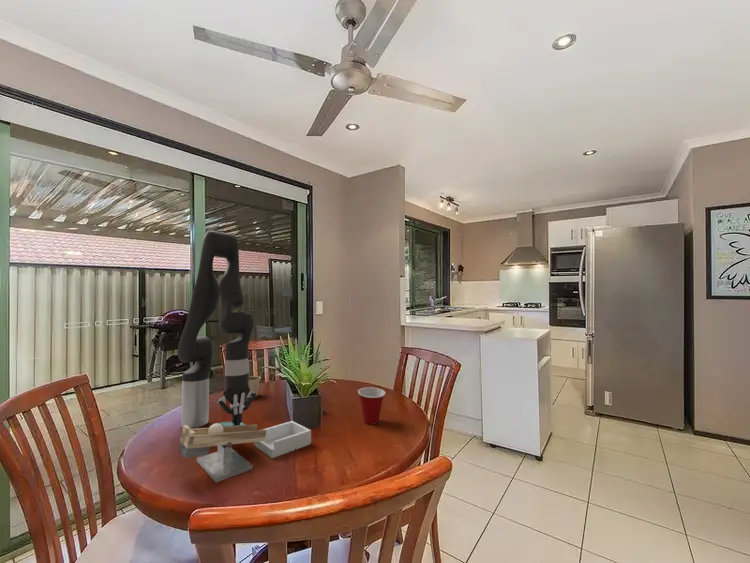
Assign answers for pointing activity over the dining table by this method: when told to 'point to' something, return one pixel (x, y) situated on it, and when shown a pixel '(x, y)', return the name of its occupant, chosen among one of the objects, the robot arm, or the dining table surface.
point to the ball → (215, 428)
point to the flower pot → (254, 384)
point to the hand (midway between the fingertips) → (236, 424)
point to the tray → (284, 439)
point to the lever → (217, 438)
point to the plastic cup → (371, 403)
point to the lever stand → (224, 463)
